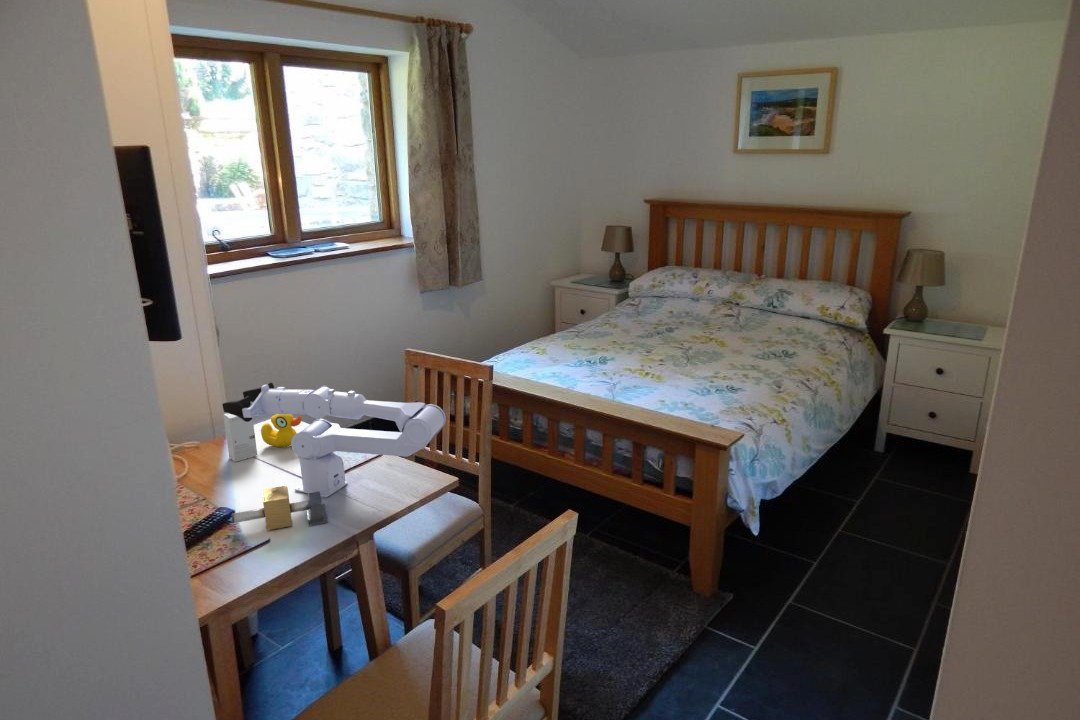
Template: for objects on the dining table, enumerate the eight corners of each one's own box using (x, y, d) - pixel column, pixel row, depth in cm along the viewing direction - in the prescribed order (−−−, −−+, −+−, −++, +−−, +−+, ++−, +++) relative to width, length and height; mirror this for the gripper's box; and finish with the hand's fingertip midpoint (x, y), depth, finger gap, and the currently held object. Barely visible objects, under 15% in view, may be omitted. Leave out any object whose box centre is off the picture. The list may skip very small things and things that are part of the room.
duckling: (308, 442, 194) (304, 408, 191) (300, 451, 188) (296, 415, 185) (268, 441, 194) (263, 407, 192) (259, 450, 189) (254, 415, 186)
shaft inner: (321, 504, 156) (321, 496, 156) (322, 508, 154) (321, 500, 154) (277, 512, 153) (276, 504, 152) (277, 516, 151) (276, 508, 151)
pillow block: (325, 505, 160) (323, 488, 158) (328, 522, 152) (326, 504, 151) (306, 509, 158) (304, 491, 157) (308, 526, 151) (306, 508, 150)
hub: (290, 512, 156) (287, 485, 154) (292, 525, 151) (288, 497, 149) (266, 516, 154) (262, 489, 153) (267, 530, 149) (263, 502, 147)
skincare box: (235, 462, 182) (228, 418, 178) (228, 457, 185) (221, 414, 181) (258, 455, 186) (252, 412, 182) (251, 450, 189) (245, 407, 186)
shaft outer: (278, 512, 153) (276, 504, 152) (278, 516, 151) (277, 508, 151) (232, 520, 150) (231, 511, 149) (232, 525, 148) (231, 516, 148)
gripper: (299, 375, 169) (249, 375, 172) (264, 396, 156) (210, 396, 159) (304, 402, 171) (255, 402, 174) (270, 426, 158) (217, 425, 161)
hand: (234, 401), depth 167 cm, fingers open, 7 cm apart
